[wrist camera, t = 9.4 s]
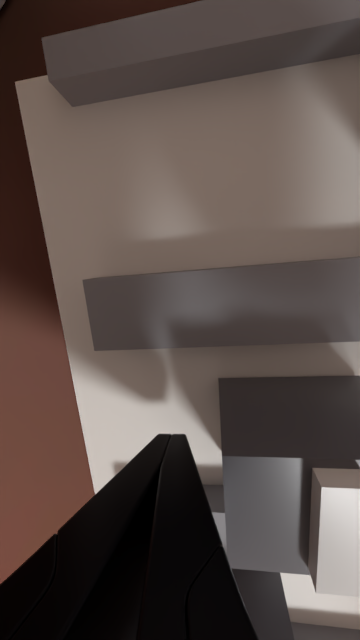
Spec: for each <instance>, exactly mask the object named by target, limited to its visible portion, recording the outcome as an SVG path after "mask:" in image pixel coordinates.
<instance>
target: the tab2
mask: <svg viewBox="0 0 360 640" xmlns="http://www.w3.org/2000/svg"><path fill="white" fill-rule="evenodd" d="M218 382H219V404H220V426H221V448H222V467H223V486H224V505H225V524H226V543H227V558H228V561H229V564H230V567H231V568H233V569H244V570H256V571H267V572H279V573H290V574H301V575H311V579H312V582H313V585H314V588H315V592H316V593H319V594H330V595H340V596H350V597H360V376H304V377H249V378H218Z"/></svg>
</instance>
